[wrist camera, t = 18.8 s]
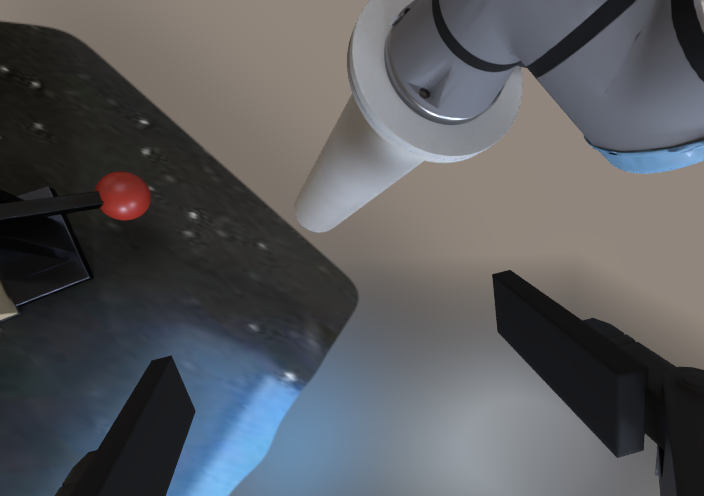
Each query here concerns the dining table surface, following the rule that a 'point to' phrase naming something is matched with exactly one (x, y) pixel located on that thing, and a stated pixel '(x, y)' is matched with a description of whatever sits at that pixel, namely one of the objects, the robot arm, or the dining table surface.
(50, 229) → the lever bracket
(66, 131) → the dining table surface
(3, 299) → the toaster
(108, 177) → the lever
